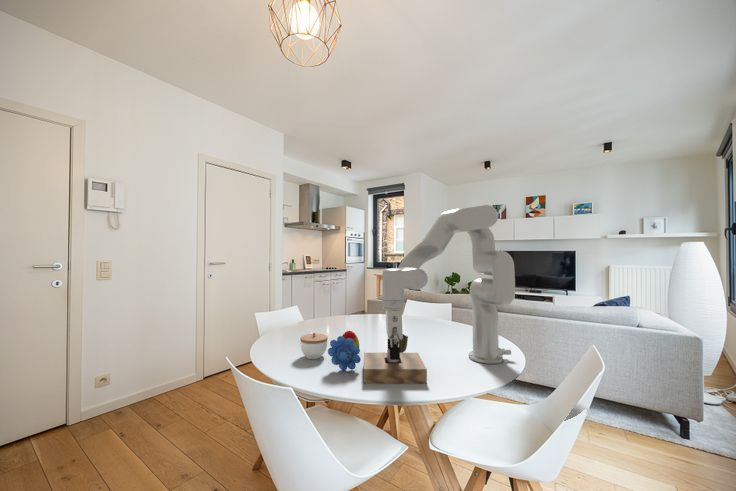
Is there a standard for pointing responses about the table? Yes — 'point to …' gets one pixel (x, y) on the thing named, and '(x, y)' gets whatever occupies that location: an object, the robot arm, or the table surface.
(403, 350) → the cup
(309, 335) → the lidded jar
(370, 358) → the walnut block
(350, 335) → the decorative egg
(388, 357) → the steel peg
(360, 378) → the table surface
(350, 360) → the grapes
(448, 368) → the table surface
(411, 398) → the table surface
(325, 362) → the table surface
